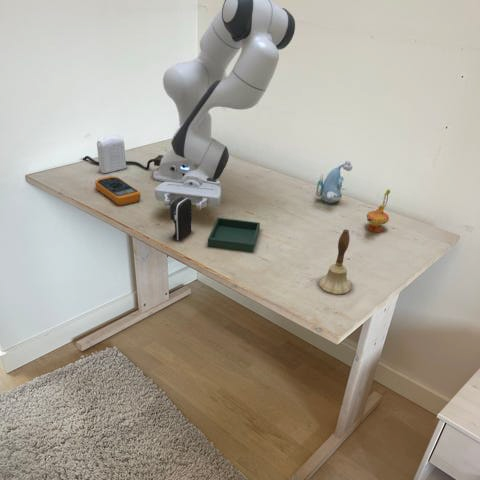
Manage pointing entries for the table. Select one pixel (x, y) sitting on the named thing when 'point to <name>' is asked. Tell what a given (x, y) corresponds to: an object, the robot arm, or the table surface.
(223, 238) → the storage box
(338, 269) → the hand bell
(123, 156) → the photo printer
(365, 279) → the table surface
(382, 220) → the magic lamp
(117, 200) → the multimeter
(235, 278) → the table surface
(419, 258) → the table surface
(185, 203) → the battery charger
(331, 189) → the toy figure
